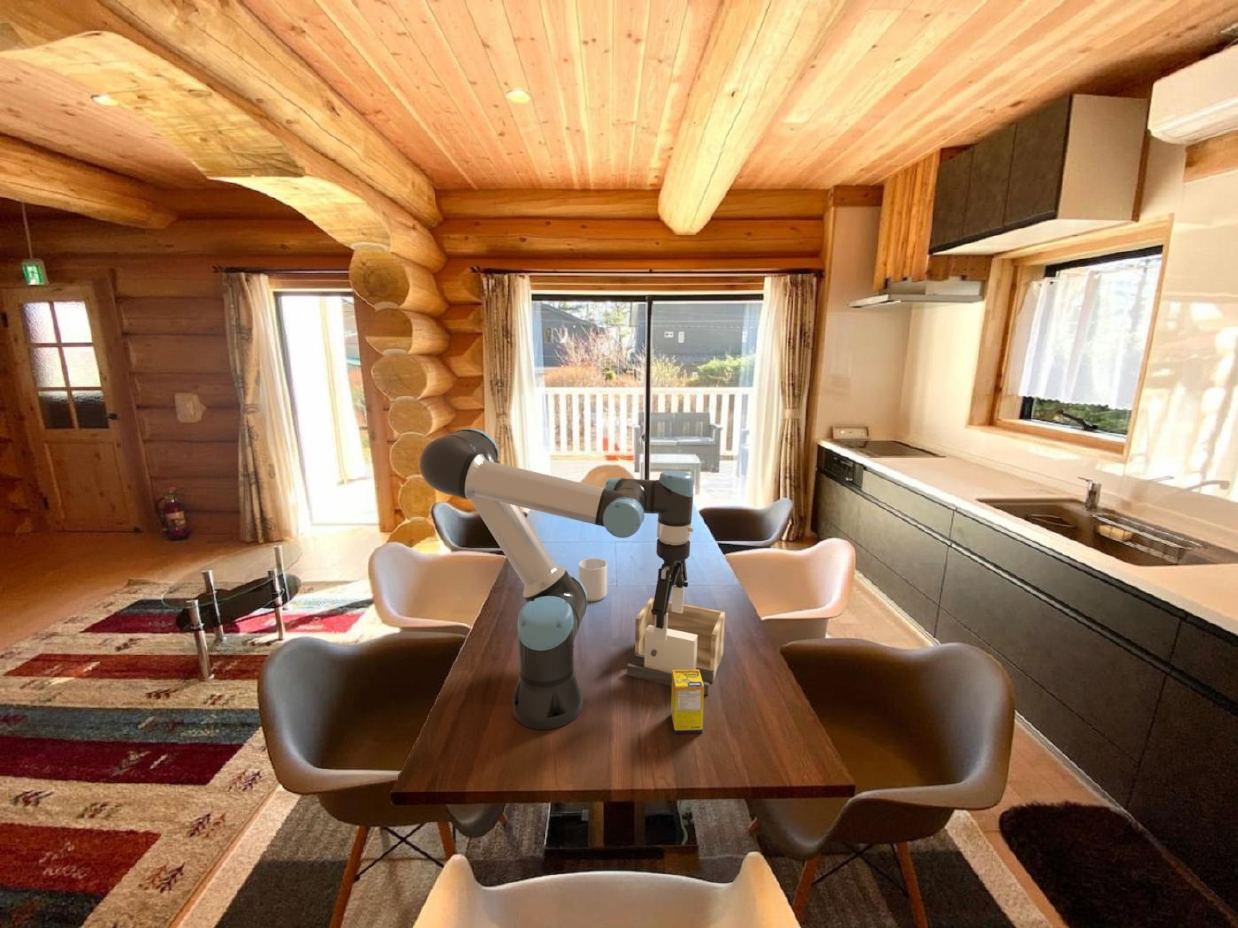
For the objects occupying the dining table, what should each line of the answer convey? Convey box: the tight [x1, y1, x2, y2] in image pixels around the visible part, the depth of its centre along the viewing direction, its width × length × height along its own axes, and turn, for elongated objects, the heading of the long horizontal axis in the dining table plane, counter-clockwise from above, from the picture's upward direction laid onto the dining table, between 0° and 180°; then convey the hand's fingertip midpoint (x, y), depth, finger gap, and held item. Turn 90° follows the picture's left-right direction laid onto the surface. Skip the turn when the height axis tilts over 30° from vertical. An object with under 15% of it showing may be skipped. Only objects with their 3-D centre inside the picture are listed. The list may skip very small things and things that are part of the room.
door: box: [643, 625, 698, 674], centre depth 123 cm, size 4×12×12 cm, turn 68°
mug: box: [578, 557, 608, 602], centre depth 166 cm, size 12×9×11 cm
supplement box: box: [670, 669, 705, 734], centre depth 108 cm, size 6×6×11 cm
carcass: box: [626, 597, 727, 696], centre depth 128 cm, size 18×20×12 cm
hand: (669, 624), depth 121 cm, fingers open, 13 cm apart
